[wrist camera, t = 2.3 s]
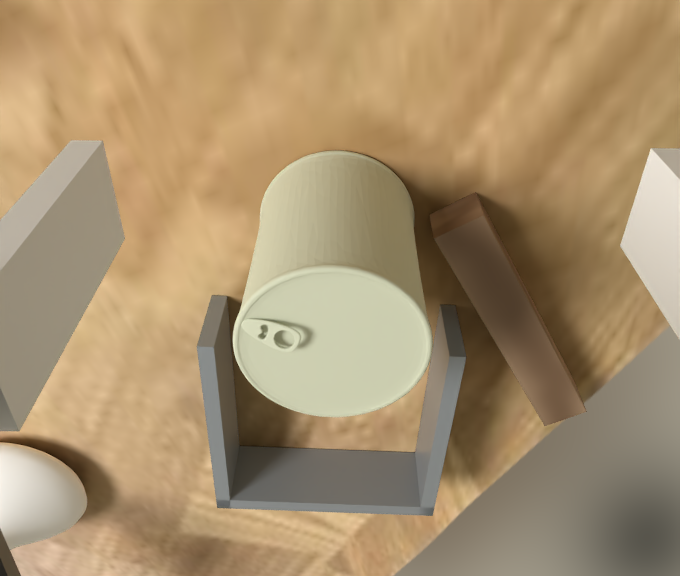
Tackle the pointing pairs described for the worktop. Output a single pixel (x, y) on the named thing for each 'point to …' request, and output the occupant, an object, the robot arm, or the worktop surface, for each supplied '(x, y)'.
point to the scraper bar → (505, 307)
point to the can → (334, 290)
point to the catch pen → (327, 464)
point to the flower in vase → (36, 495)
